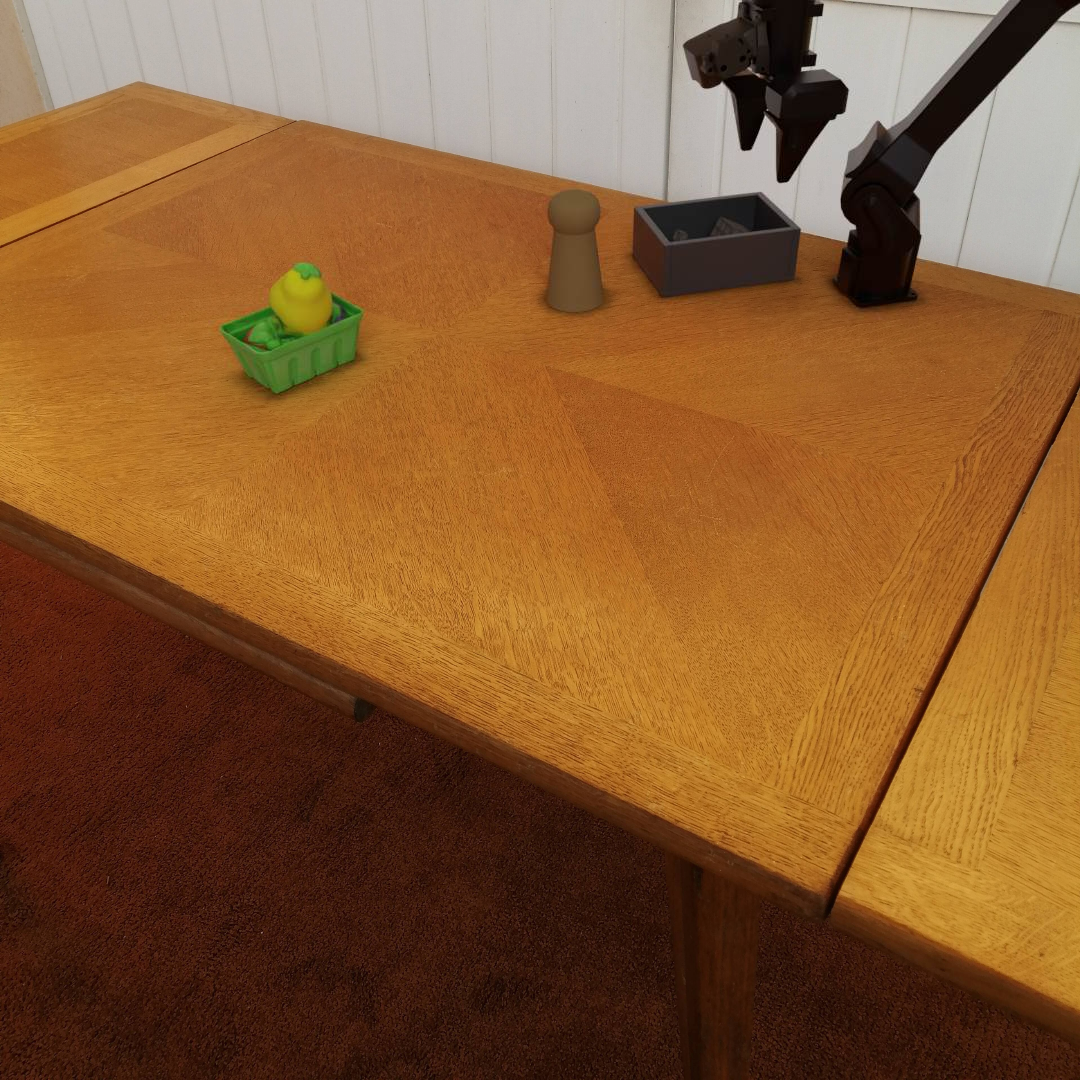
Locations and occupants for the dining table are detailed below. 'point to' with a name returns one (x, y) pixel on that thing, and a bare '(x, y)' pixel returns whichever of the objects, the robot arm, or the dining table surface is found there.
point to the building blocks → (716, 230)
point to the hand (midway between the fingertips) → (763, 165)
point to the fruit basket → (295, 331)
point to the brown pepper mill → (574, 252)
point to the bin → (714, 244)
